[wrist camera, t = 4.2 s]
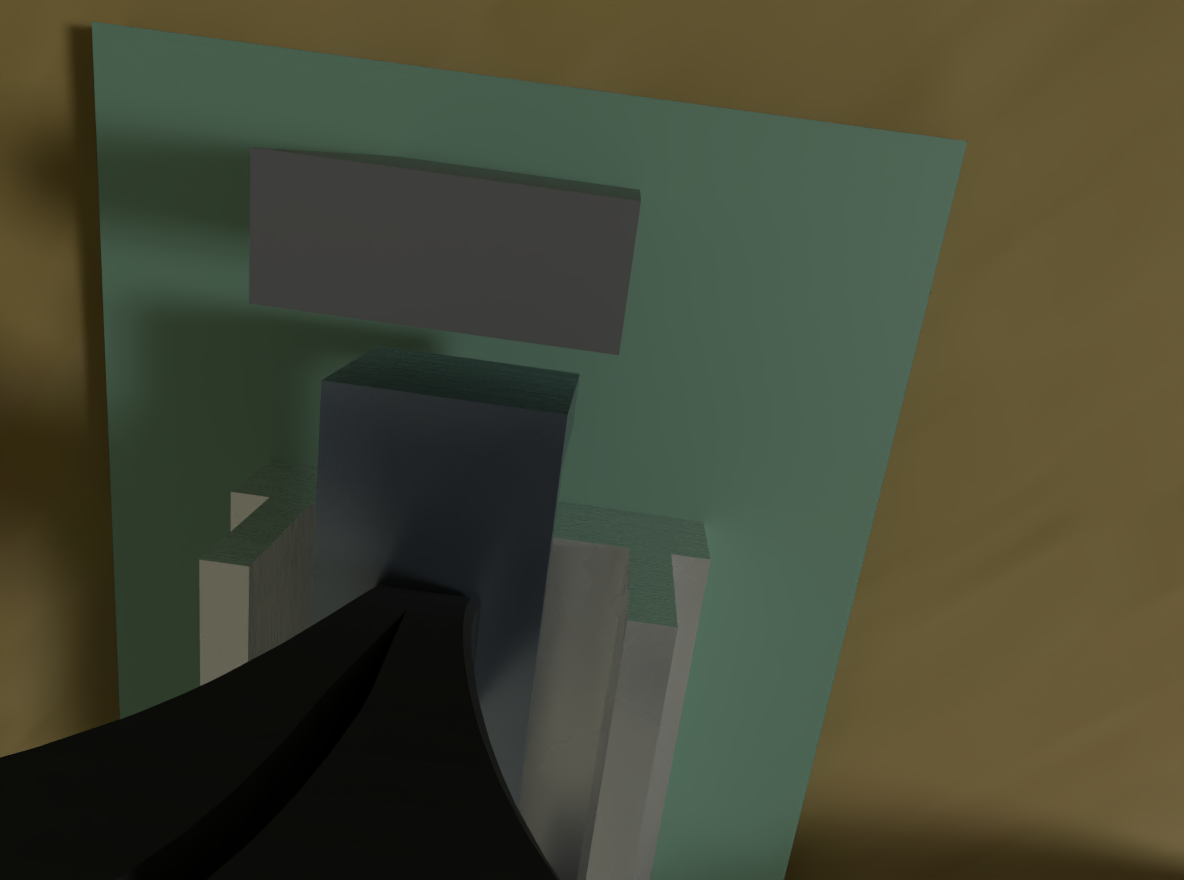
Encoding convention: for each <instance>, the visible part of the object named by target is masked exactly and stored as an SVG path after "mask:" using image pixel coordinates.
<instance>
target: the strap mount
mask: <svg viewBox="0 0 1184 880" xmlns="http://www.w3.org/2000/svg"><path fill="white" fill-rule="evenodd" d="M640 205H641V196H640V190H638V189H630V188H623V187H616V186H609V185H601V184H594V183H587V182H580V181H572V180H565V179H558V178H551V177H543V176H536V175H529V174H522V173H514V172H507V171H500V170H493V169H485V168H478V167H471V166H464V165H456V164H449V163H442V162H435V161H427V160H420V159H413V158H405V157H398V156H384V155H367V154H351V153H335V152H319V151H303V150H287V149H271V148H255V147H251V148H250V241H249V304H255V305H262V306H269V307H276V308H283V309H290V310H298V311H305V312H312V313H319V314H326V315H333V316H341V317H348V318H355V319H362V320H369V321H376V322H384V323H391V324H398V325H405V326H412V327H419V328H427V329H434V330H441V331H448V332H455V333H462V334H470V335H477V336H484V337H491V338H498V339H505V340H513V341H520V342H527V343H534V344H541V345H548V346H555V347H563V348H570V349H577V350H584V351H591V352H598V353H606V354H613V355H619V352H620V345H621V338H622V331H623V324H624V317H625V310H626V303H627V296H628V289H629V282H630V275H631V268H632V261H633V254H634V247H635V240H636V233H637V226H638V219H639V212H640Z"/></svg>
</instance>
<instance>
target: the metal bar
mask: <svg viewBox="0 0 1184 880" xmlns="http://www.w3.org/2000/svg"><path fill="white" fill-rule="evenodd" d="M579 377H580V374H578V373H571V372H564V371H557V370H550V369H542V368H535V367H528V366H521V365H514V364H507V363H499V362H492V361H485V360H478V359H471V358H464V357H457V356H449V355H442V354H435V353H428V352H421V351H414V350H407V349H399V348H392V347H385V346H377V347H375V348H373V349H372V350H370V351H368V352H367V353H365V354H363V355H362V356H360V357H359V358H357V359H355V360H354V361H352V362H350V363H349V364H347V365H345V366H344V367H342V368H341V369H339V370H337V371H336V372H334V373H332V374H331V375H329V376H327V377H326V378H324V379H323V380H321V400H320V423H319V445H318V468H317V491H316V514H315V537H314V560H313V583H312V606H311V626H312V625H314V624H315V623H317V622H319V621H320V620H322V619H324V618H325V617H327V616H329V615H330V614H332V613H333V612H335V611H337V610H338V609H340V608H341V607H343V606H344V605H346V604H348V603H349V602H351V601H352V600H354V599H356V598H357V597H359V596H361V595H362V594H364V593H365V592H367V591H369V590H371V589H372V588H374V587H376V586H378V585H385V586H392V587H399V588H406V589H413V590H420V591H427V592H434V593H441V594H448V595H455V596H462V597H469V598H472V599H473V601H474V602H475V603H476V605H477V606H478V607H479V608H478V618H477V628H476V637H475V647H474V657H473V667H474V674H475V681H476V688H477V693H478V698H479V702H480V707H481V710H482V714H483V718H484V722H485V726H486V729H487V733H488V736H489V739H490V742H491V745H492V748H493V751H494V754H495V757H496V759H497V762H498V765H499V767H500V770H501V772H502V775H503V777H504V780H505V782H506V784H507V786H508V789H509V791H510V793H511V795H512V798H513V800H514V802H515V804H516V806H517V808H518V810H519V804H520V796H521V788H522V780H523V773H524V765H525V757H526V749H527V742H528V734H529V726H530V718H531V711H532V703H533V695H534V687H535V680H536V672H537V664H538V656H539V649H540V641H541V633H542V625H543V618H544V610H545V602H546V594H547V587H548V579H549V571H550V563H551V556H552V548H553V540H554V532H555V525H556V517H557V509H558V501H559V494H560V486H561V478H562V470H563V463H564V459H565V455H566V451H567V447H568V443H569V440H570V436H571V432H572V428H573V423H574V415H575V408H576V400H577V392H578V385H579Z"/></svg>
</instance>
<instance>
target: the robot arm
mask: <svg viewBox="0 0 1184 880" xmlns="http://www.w3.org/2000/svg"><path fill="white" fill-rule="evenodd" d="M478 608H479V607H478V606H477V605H476V603H475V602H474V601H473V599H472V598H469V597H462V596H455V595H448V594H441V593H434V592H427V591H420V590H413V589H406V588H399V587H392V586H385V585H378V586H376V587H374V588H372V589H371V590H369V591H367V592H365V593H364V594H362V595H361V596H359V597H357V598H356V599H354V600H352V601H351V602H349V603H348V604H346V605H344V606H343V607H341V608H340V609H338V610H337V611H335V612H333V613H332V614H330V615H329V616H327V617H325V618H324V619H322V620H320V621H319V622H317V623H315V624H314V625H312V626H310V627H309V628H307V629H305V630H304V631H302V632H300V633H299V634H297V635H295V636H294V637H292V638H290V639H289V640H287V641H285V642H284V643H282V644H280V645H278V646H276V647H275V648H273V649H271V650H269V651H267V652H265V653H263V654H261V655H260V656H258V657H256V658H254V659H252V660H250V661H248V662H246V663H244V664H243V665H241V666H239V667H237V668H235V669H233V670H231V671H229V672H228V673H226V674H224V675H222V676H220V677H218V678H216V679H214V680H212V681H210V682H208V683H206V684H203V685H201V686H199V687H197V688H195V689H193V690H190V691H188V692H186V693H184V694H182V695H179V696H177V697H174V698H172V699H170V700H167V701H165V702H162V703H160V704H158V705H155V706H153V707H150V708H148V709H146V710H143V711H141V712H138V713H136V714H133V715H130V716H128V717H125V718H123V719H120V720H117V721H114V722H111V723H108V724H105V725H102V726H99V727H96V728H93V729H90V730H87V731H84V732H81V733H78V734H75V735H72V736H69V737H66V738H63V739H60V740H57V741H54V742H51V743H48V744H45V745H42V746H39V747H36V748H33V749H29V750H26V751H22V752H19V753H15V754H12V755H8V756H4V757H1V758H0V880H560V879H559V877H558V876H557V874H556V873H555V871H554V870H553V868H552V867H551V865H550V864H549V862H548V861H547V859H546V858H545V856H544V855H543V853H542V851H541V849H540V847H539V846H538V844H537V842H536V840H535V838H534V837H533V835H532V833H531V831H530V829H529V828H528V826H527V824H526V822H525V820H524V819H523V817H522V815H521V813H520V811H519V810H518V808H517V806H516V804H515V802H514V800H513V798H512V795H511V793H510V791H509V789H508V786H507V784H506V782H505V780H504V777H503V775H502V772H501V770H500V767H499V765H498V762H497V759H496V757H495V754H494V751H493V748H492V745H491V742H490V739H489V736H488V733H487V729H486V726H485V722H484V718H483V714H482V710H481V707H480V702H479V698H478V693H477V688H476V681H475V674H474V667H473V657H474V647H475V637H476V628H477V618H478Z"/></svg>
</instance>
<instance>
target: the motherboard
mask: <svg viewBox="0 0 1184 880" xmlns="http://www.w3.org/2000/svg"><path fill="white" fill-rule="evenodd" d="M92 40H93V65H94V90H95V115H96V139H97V164H98V189H99V214H100V239H101V263H102V288H103V313H104V338H105V362H106V387H107V412H108V437H109V461H110V486H111V511H112V536H113V561H114V585H115V610H116V635H117V660H118V684H119V709H120V719H123V718H125V717H128V716H130V715H133V714H136V713H138V712H141V711H143V710H146V709H148V708H150V707H153V706H155V705H158V704H160V703H162V702H165V701H167V700H170V699H172V698H174V697H177V696H179V695H182V694H184V693H186V692H188V691H190V690H193V689H195V688H197V687H199V686H200V589H199V559H200V558H202V557H203V556H204V555H205V554H206V553H207V552H208V551H209V550H211V549H212V548H213V547H214V546H215V545H216V544H217V543H218V542H220V541H221V540H222V539H223V538H224V537H225V536H226V535H228V534H229V533H230V532H231V491H232V490H234V489H235V488H236V487H237V486H239V485H240V484H241V483H243V482H244V481H245V480H246V479H248V478H249V477H250V476H251V475H253V474H254V473H255V472H257V471H258V470H259V469H260V468H262V467H263V466H264V465H265V464H267V463H268V462H269V461H275V462H282V463H289V464H296V465H303V466H310V467H317V468H318V445H319V423H320V400H321V380H323V379H324V378H326V377H327V376H329V375H331V374H332V373H334V372H336V371H337V370H339V369H341V368H342V367H344V366H345V365H347V364H349V363H350V362H352V361H354V360H355V359H357V358H359V357H360V356H362V355H363V354H365V353H367V352H368V351H370V350H372V349H373V348H375V347H377V346H385V347H392V348H399V349H407V350H414V351H421V352H428V353H435V354H442V355H449V356H457V357H464V358H471V359H478V360H485V361H492V362H499V363H507V364H514V365H521V366H528V367H535V368H542V369H550V370H557V371H564V372H571V373H578V374H580V377H579V385H578V392H577V400H576V408H575V415H574V423H573V428H572V432H571V436H570V440H569V443H568V447H567V451H566V455H565V459H564V463H563V470H562V478H561V486H560V494H559V501H558V502H565V503H572V504H579V505H586V506H593V507H600V508H607V509H614V510H621V511H628V512H636V513H643V514H650V515H657V516H664V517H671V518H678V519H685V520H692V521H699V522H704V527H705V532H706V538H707V543H708V548H709V554H710V559H711V560H710V566H709V571H708V576H707V581H706V587H705V592H704V597H703V603H702V608H701V613H700V618H699V624H698V629H697V634H696V639H695V645H694V650H693V655H692V661H691V666H690V671H689V676H688V682H687V687H686V692H685V697H684V703H683V708H682V713H681V719H680V724H679V729H678V734H677V740H676V745H675V750H674V755H673V761H672V766H671V771H670V777H669V782H668V787H667V792H666V798H665V803H664V808H663V813H662V819H661V824H660V829H659V835H658V840H657V845H656V850H655V856H654V861H653V866H652V871H651V877H650V880H784V878H785V874H786V870H787V866H788V862H789V858H790V854H791V850H792V846H793V842H794V838H795V834H796V829H797V825H798V821H799V817H800V813H801V809H802V805H803V801H804V797H805V793H806V789H807V785H808V781H809V777H810V773H811V769H812V765H813V761H814V757H815V753H816V749H817V745H818V741H819V737H820V733H821V729H822V725H823V721H824V717H825V713H826V709H827V705H828V701H829V697H830V693H831V689H832V685H833V681H834V677H835V673H836V669H837V665H838V661H839V657H840V652H841V648H842V644H843V640H844V636H845V632H846V628H847V624H848V620H849V616H850V612H851V608H852V604H853V600H854V596H855V592H856V588H857V584H858V580H859V576H860V572H861V568H862V564H863V560H864V556H865V552H866V548H867V544H868V540H869V536H870V532H871V528H872V524H873V520H874V516H875V512H876V508H877V504H878V500H879V496H880V492H881V488H882V484H883V480H884V475H885V471H886V467H887V463H888V459H889V455H890V451H891V447H892V443H893V439H894V435H895V431H896V427H897V423H898V419H899V415H900V411H901V407H902V403H903V399H904V395H905V391H906V387H907V383H908V379H909V375H910V371H911V367H912V363H913V359H914V355H915V351H916V347H917V343H918V339H919V335H920V331H921V327H922V323H923V319H924V315H925V311H926V307H927V303H928V298H929V294H930V290H931V286H932V282H933V278H934V274H935V270H936V266H937V262H938V258H939V254H940V250H941V246H942V242H943V238H944V234H945V230H946V226H947V222H948V218H949V214H950V210H951V206H952V202H953V198H954V194H955V190H956V186H957V182H958V178H959V174H960V170H961V166H962V162H963V158H964V154H965V150H966V146H967V142H968V141H961V140H954V139H946V138H939V137H932V136H924V135H917V134H910V133H902V132H895V131H888V130H881V129H873V128H866V127H859V126H851V125H844V124H837V123H829V122H822V121H815V120H807V119H800V118H793V117H786V116H778V115H771V114H764V113H756V112H749V111H742V110H734V109H727V108H720V107H712V106H705V105H698V104H690V103H683V102H676V101H669V100H661V99H654V98H647V97H639V96H632V95H625V94H617V93H610V92H603V91H595V90H588V89H581V88H574V87H566V86H559V85H552V84H544V83H537V82H530V81H522V80H515V79H508V78H500V77H493V76H486V75H479V74H471V73H464V72H457V71H449V70H442V69H435V68H427V67H420V66H413V65H405V64H398V63H391V62H384V61H376V60H369V59H362V58H354V57H347V56H340V55H332V54H325V53H318V52H310V51H303V50H296V49H288V48H281V47H274V46H267V45H259V44H252V43H245V42H237V41H230V40H223V39H215V38H208V37H201V36H193V35H186V34H179V33H172V32H164V31H157V30H150V29H142V28H135V27H128V26H120V25H113V24H106V23H98V22H92ZM251 147H255V148H271V149H287V150H303V151H319V152H335V153H351V154H367V155H384V156H398V157H405V158H413V159H420V160H427V161H435V162H442V163H449V164H456V165H464V166H471V167H478V168H485V169H493V170H500V171H507V172H514V173H522V174H529V175H536V176H543V177H551V178H558V179H565V180H572V181H580V182H587V183H594V184H601V185H609V186H616V187H623V188H630V189H638V190H640V196H641V205H640V212H639V219H638V226H637V233H636V240H635V247H634V254H633V261H632V268H631V275H630V282H629V289H628V296H627V303H626V310H625V317H624V324H623V331H622V338H621V345H620V352H619V355H613V354H606V353H598V352H591V351H584V350H577V349H570V348H563V347H555V346H548V345H541V344H534V343H527V342H520V341H513V340H505V339H498V338H491V337H484V336H477V335H470V334H462V333H455V332H448V331H441V330H434V329H427V328H419V327H412V326H405V325H398V324H391V323H384V322H376V321H369V320H362V319H355V318H348V317H341V316H333V315H326V314H319V313H312V312H305V311H298V310H290V309H283V308H276V307H269V306H262V305H255V304H249V241H250V148H251Z"/></svg>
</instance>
